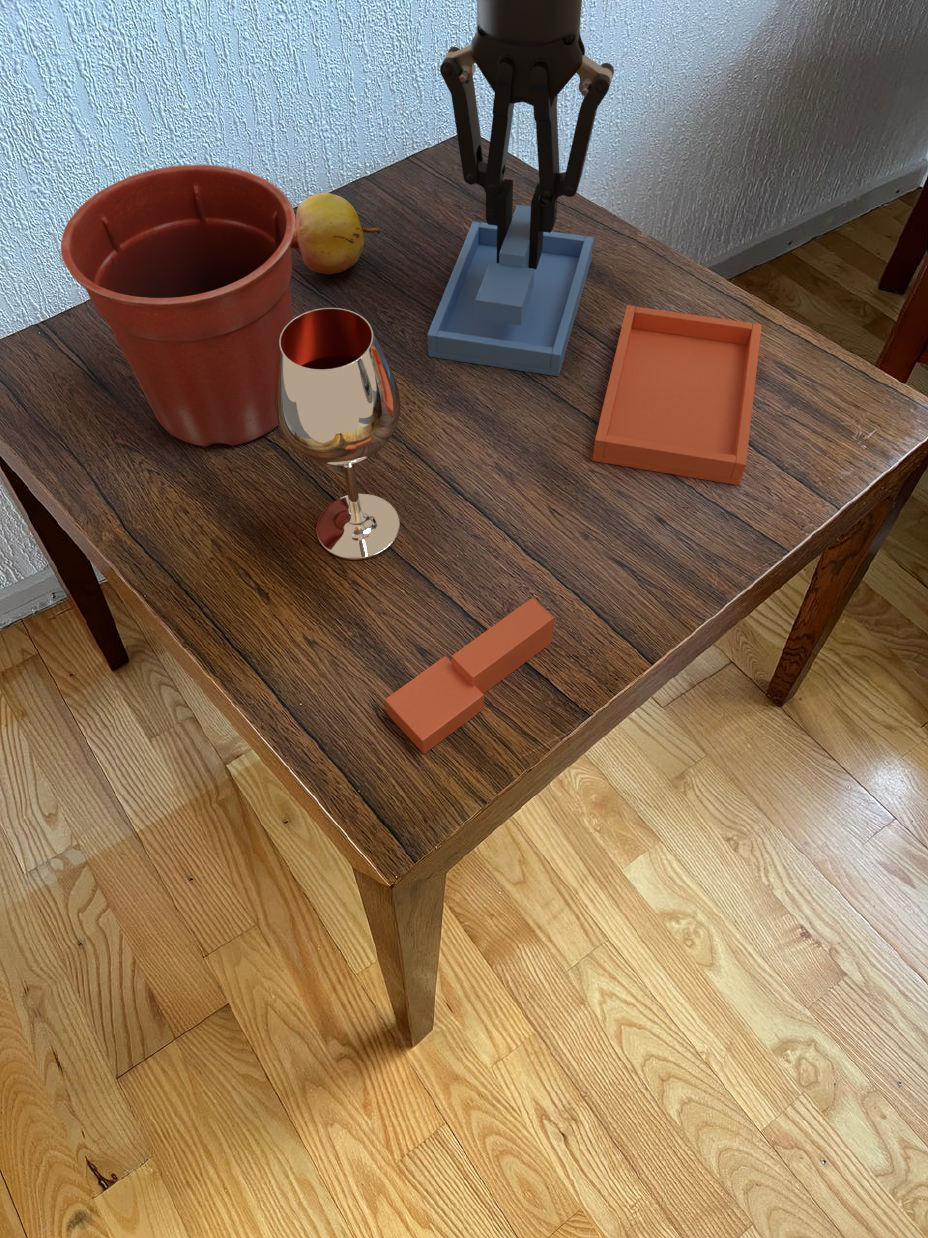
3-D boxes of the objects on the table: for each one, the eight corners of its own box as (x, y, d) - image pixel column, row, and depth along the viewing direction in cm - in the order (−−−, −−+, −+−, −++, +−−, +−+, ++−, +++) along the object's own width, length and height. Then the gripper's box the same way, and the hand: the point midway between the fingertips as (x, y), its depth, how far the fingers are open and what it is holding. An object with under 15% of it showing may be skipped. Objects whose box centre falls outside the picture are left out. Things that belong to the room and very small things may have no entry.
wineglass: (291, 506, 74) (242, 316, 60) (389, 474, 76) (366, 281, 61) (325, 584, 70) (281, 400, 55) (428, 548, 72) (413, 360, 57)
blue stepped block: (506, 234, 89) (507, 202, 86) (548, 240, 88) (551, 208, 85) (475, 318, 82) (475, 287, 79) (520, 325, 82) (522, 294, 79)
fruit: (371, 176, 89) (263, 190, 88) (382, 200, 84) (268, 215, 83) (379, 249, 94) (277, 264, 93) (391, 276, 89) (283, 292, 87)
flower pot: (330, 330, 86) (302, 158, 73) (320, 466, 77) (286, 298, 63) (146, 336, 86) (84, 166, 73) (115, 473, 77) (37, 306, 63)
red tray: (755, 346, 84) (762, 323, 82) (739, 485, 75) (746, 464, 73) (623, 326, 85) (626, 304, 83) (592, 461, 77) (595, 439, 75)
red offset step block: (522, 615, 68) (523, 589, 66) (560, 651, 67) (563, 625, 64) (386, 713, 64) (382, 690, 62) (423, 755, 62) (421, 732, 60)
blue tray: (591, 259, 91) (594, 236, 89) (558, 376, 82) (560, 354, 80) (472, 243, 93) (472, 220, 91) (428, 356, 84) (426, 334, 82)
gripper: (410, -23, 66) (426, 271, 85) (632, -2, 63) (596, 295, 83) (438, -70, 70) (447, 221, 89) (647, -51, 67) (610, 243, 87)
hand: (519, 256), depth 86 cm, fingers closed on blue stepped block, 2 cm apart
